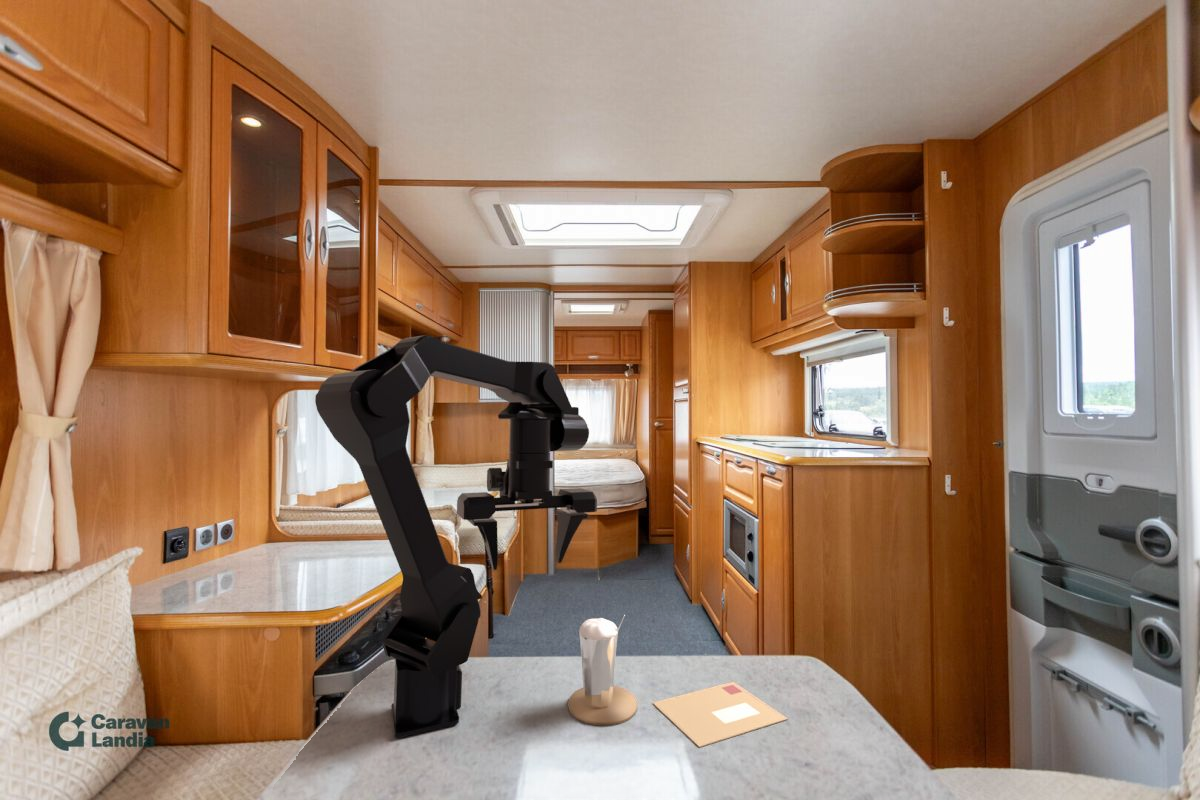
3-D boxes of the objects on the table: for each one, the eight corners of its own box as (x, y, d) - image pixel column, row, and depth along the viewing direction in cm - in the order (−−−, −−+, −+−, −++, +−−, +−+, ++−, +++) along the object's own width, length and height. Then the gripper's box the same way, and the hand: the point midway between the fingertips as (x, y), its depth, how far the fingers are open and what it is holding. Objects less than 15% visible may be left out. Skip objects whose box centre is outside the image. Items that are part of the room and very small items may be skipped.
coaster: (585, 732, 53) (585, 728, 53) (558, 696, 60) (558, 692, 60) (650, 715, 56) (650, 711, 56) (617, 682, 64) (617, 679, 64)
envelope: (699, 747, 51) (699, 746, 51) (652, 703, 59) (652, 702, 59) (787, 719, 56) (787, 718, 56) (733, 682, 64) (733, 681, 64)
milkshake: (623, 714, 56) (623, 621, 56) (575, 710, 57) (576, 619, 57) (625, 692, 60) (626, 607, 61) (581, 689, 61) (582, 605, 62)
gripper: (569, 449, 82) (568, 547, 81) (451, 450, 74) (448, 558, 73) (599, 453, 72) (597, 564, 71) (466, 454, 64) (462, 579, 63)
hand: (527, 565), depth 70 cm, fingers open, 9 cm apart
